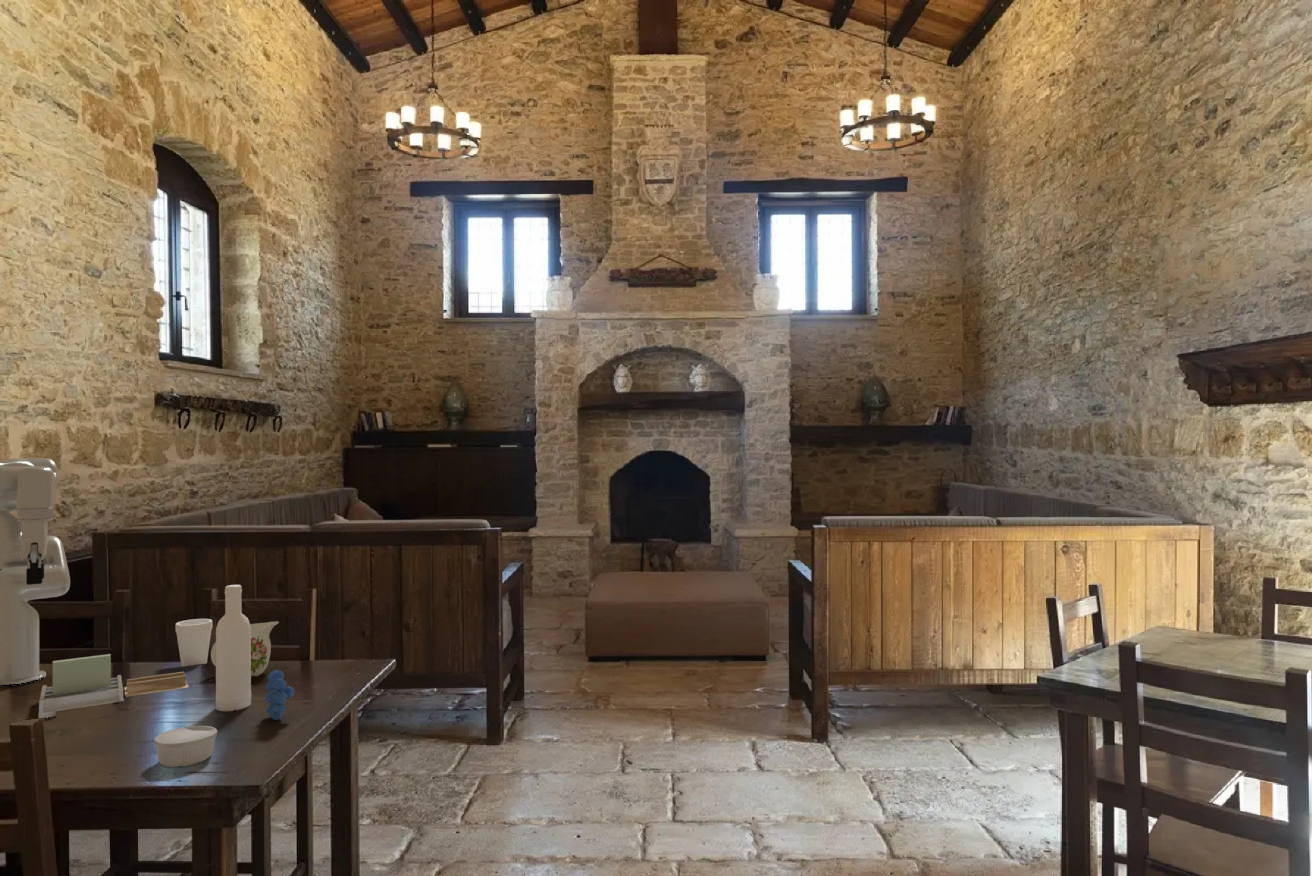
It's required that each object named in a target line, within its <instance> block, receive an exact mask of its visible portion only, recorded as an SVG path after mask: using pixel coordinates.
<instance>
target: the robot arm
mask: <svg viewBox="0 0 1312 876" xmlns="http://www.w3.org/2000/svg"><path fill="white" fill-rule="evenodd" d="M58 479H59V471H58V466H57V464H56V463H55V461H54V460H53V459H51V458H48V457H12V458H6V459H4V460H1V461H0V685H9V684H20V685H22V684H21V683H25V684H27V683H26V682H30V681H33V680H38V681H40V680H42V679H41V678H43V677H44V678H46V676H47V672H46V671H44V670H40V614H39V613H38V611H37V610H36V609H35V607H33V606H31V604H29V603H28V602H29V601H33V600H39V599H49V598H58V597H61V596H63V595H66V593H68V591H69V590H70V587H71V576H70V570H69V567H68V562H67V557H66V553H65V548H64V545H63V542H62V540H61V539H60V538H59V537H57V536H56V535H48V534H49V533H48V532H49V531H48V529H49V522H48V521H54V496H55V495H54V494H55V491H56V487H57V483H58ZM10 512H16V516H15V515H14V514H12V513H10ZM44 678H43V679H44ZM39 679H40V680H39ZM30 683H31V682H30Z"/></svg>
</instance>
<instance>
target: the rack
mask: <svg viewBox="0 0 1312 876" xmlns="http://www.w3.org/2000/svg"><path fill="white" fill-rule="evenodd" d="M123 686H124V685H123V681H122V675H121V674H118V675H117V677H111V686H105V687H98V688H91V689H84V690H77V691H70V692H63V693H56V694H53V686H47V684H44V685H42V687H41V692H40V697H39V701H38V719H39V718H43V720H45V719H44V717H45V718H47V719H48V717H53V716H56V717H57V712H62V711H67V710H69V711H70V710H75V709H81V708H87V707H93V706H100V705H101V706H102V705H108V704H114V703H121V702H124V701H125V700H124V687H123ZM47 719H46V720H47ZM48 720H49V719H48Z"/></svg>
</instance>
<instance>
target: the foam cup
mask: <svg viewBox="0 0 1312 876" xmlns="http://www.w3.org/2000/svg"><path fill="white" fill-rule="evenodd" d="M212 629H213V620H212V619H209V618H195V619H194V618H193V619H187V620H182V621H178V622H176V623H175V633H176V638H177V645H178V650H179V658H180V659H179V660H180V666H181V667H182V668H183V667H189V666H197V665H204V664H205V665H206V664H207V663H208V657H209V651H210V641H211V636H212V635H211V634H212Z"/></svg>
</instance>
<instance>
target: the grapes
mask: <svg viewBox="0 0 1312 876" xmlns="http://www.w3.org/2000/svg"><path fill="white" fill-rule="evenodd" d="M284 677H285V674H284V672H282V671H281V670H280V669H277V670H272V671H271V672H270V673H269V674H268V675H267V678H266V679H267V680H268V682H267V683H266V684H265V686H264V688H265V689H266V690H267V691H268V692H267V693H266V694H265V696H264V697H265V698H264V701H265V702H266V703H267V704H269V706H268V708H267V709H266V710H265V711H266V712H267V713H268V716H269V717H270V718H271V719H272V720H274V721H278V720H280V718H282V717H283V714H284V713H285V711H286V710H287V706H286V705H285V704H286V701H287V700H289V699H292V697H293V696H294V694H295V693H296V690H295V689H294V688H293V687H292V686H290V685H287V684H288V683H287V681H285V679H284Z"/></svg>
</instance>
